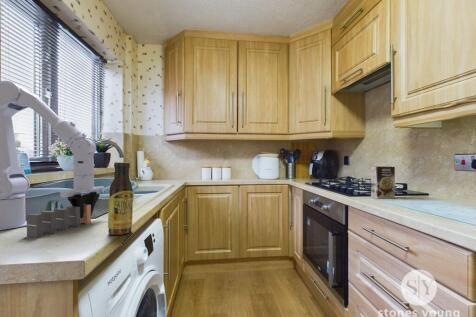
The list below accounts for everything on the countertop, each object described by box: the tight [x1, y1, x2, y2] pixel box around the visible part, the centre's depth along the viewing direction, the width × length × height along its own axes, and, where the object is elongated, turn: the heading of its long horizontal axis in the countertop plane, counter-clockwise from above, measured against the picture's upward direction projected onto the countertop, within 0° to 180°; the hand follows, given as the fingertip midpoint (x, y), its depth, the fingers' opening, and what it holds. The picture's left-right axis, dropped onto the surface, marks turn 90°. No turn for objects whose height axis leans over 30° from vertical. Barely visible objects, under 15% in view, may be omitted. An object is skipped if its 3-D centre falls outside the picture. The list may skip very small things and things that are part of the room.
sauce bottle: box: [107, 161, 134, 236], centre depth 73 cm, size 7×6×20 cm
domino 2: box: [40, 210, 57, 235], centre depth 74 cm, size 1×4×6 cm, turn 71°
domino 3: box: [54, 207, 70, 231], centre depth 77 cm, size 1×4×6 cm, turn 71°
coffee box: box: [370, 165, 396, 200], centre depth 133 cm, size 9×6×16 cm
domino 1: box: [26, 213, 44, 239], centre depth 70 cm, size 1×4×6 cm, turn 71°
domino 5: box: [80, 204, 92, 225], centre depth 85 cm, size 1×4×6 cm, turn 70°
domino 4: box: [65, 205, 81, 227], centre depth 81 cm, size 1×4×6 cm, turn 71°
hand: (84, 216), depth 85 cm, fingers open, 3 cm apart
